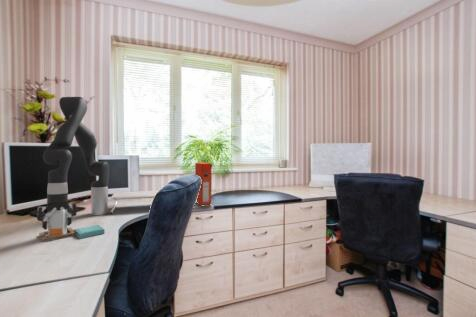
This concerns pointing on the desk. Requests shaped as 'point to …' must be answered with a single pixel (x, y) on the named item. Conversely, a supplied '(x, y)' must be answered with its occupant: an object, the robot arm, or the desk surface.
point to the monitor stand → (132, 196)
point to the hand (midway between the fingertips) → (57, 227)
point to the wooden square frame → (44, 238)
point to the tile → (89, 231)
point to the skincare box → (57, 223)
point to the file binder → (204, 182)
